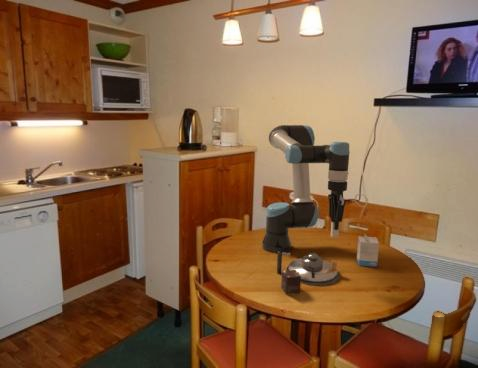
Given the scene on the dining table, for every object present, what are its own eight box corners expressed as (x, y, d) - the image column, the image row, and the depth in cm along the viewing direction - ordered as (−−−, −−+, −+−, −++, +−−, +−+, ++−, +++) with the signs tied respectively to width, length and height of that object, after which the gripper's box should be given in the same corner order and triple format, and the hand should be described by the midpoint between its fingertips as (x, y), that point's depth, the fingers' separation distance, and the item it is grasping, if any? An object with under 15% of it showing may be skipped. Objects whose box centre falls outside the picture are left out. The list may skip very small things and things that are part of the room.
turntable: (279, 272, 152) (279, 259, 151) (303, 257, 168) (304, 246, 167) (322, 288, 139) (323, 274, 138) (345, 270, 155) (346, 258, 153)
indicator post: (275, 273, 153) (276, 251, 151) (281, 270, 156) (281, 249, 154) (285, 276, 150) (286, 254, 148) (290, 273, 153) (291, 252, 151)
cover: (297, 267, 153) (298, 254, 152) (308, 261, 160) (309, 249, 158) (315, 274, 147) (316, 260, 146) (326, 267, 154) (327, 254, 152)
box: (300, 293, 136) (301, 276, 135) (285, 295, 135) (286, 277, 133) (294, 286, 142) (295, 269, 140) (280, 287, 141) (281, 270, 139)
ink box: (377, 267, 160) (380, 239, 157) (358, 265, 162) (360, 238, 159) (374, 259, 168) (376, 233, 166) (356, 258, 170) (358, 232, 167)
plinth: (276, 273, 152) (276, 272, 152) (303, 257, 169) (303, 257, 169) (323, 291, 138) (323, 290, 138) (348, 272, 155) (348, 271, 155)
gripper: (353, 183, 134) (349, 241, 138) (340, 177, 147) (337, 231, 151) (335, 183, 133) (331, 241, 137) (323, 178, 146) (320, 231, 150)
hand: (334, 236), depth 144 cm, fingers closed
